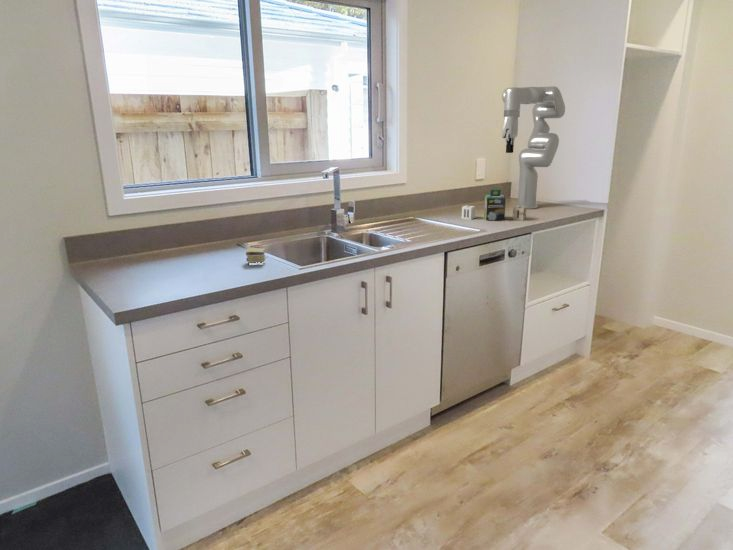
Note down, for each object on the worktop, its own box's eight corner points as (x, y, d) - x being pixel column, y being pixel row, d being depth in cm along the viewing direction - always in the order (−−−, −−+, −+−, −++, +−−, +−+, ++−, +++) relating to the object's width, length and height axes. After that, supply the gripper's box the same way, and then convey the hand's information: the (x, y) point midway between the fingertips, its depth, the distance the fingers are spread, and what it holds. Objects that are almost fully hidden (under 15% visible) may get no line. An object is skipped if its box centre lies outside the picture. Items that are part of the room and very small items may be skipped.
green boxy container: (502, 217, 260) (503, 187, 256) (505, 220, 252) (506, 190, 247) (483, 217, 261) (484, 187, 257) (485, 220, 252) (487, 190, 248)
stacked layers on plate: (272, 261, 189) (270, 246, 188) (267, 268, 181) (266, 252, 179) (244, 261, 189) (243, 247, 188) (238, 268, 181) (237, 253, 179)
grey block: (465, 217, 263) (465, 205, 261) (474, 218, 260) (475, 206, 258) (461, 218, 259) (461, 206, 257) (470, 219, 256) (471, 207, 254)
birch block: (515, 218, 258) (516, 205, 256) (525, 218, 255) (526, 206, 254) (512, 219, 254) (513, 207, 252) (522, 220, 251) (523, 208, 249)
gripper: (509, 114, 261) (506, 151, 267) (499, 114, 249) (497, 153, 255) (523, 114, 258) (521, 151, 263) (514, 114, 246) (512, 153, 251)
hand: (509, 152), depth 259 cm, fingers closed
